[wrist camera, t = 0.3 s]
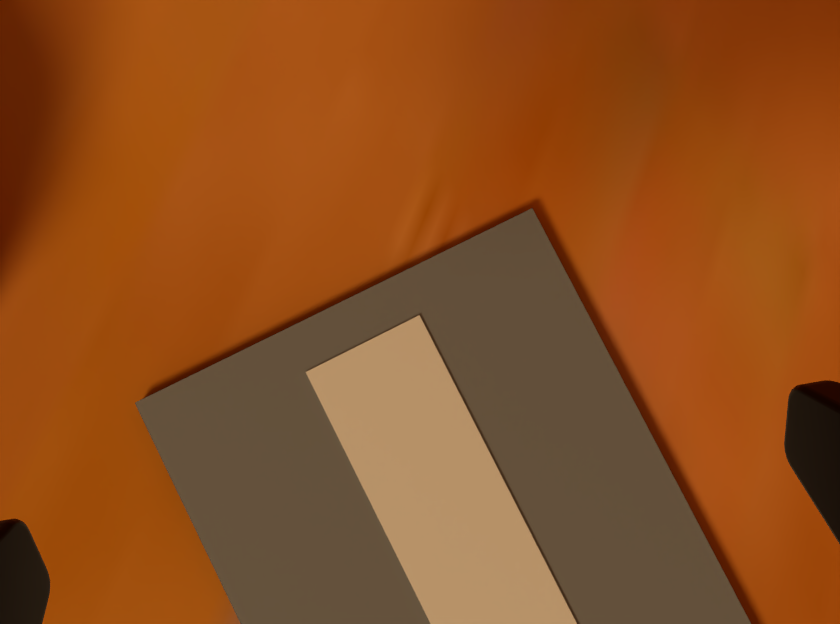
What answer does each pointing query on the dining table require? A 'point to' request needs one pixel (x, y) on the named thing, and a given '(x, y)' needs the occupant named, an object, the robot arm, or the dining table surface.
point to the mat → (438, 460)
